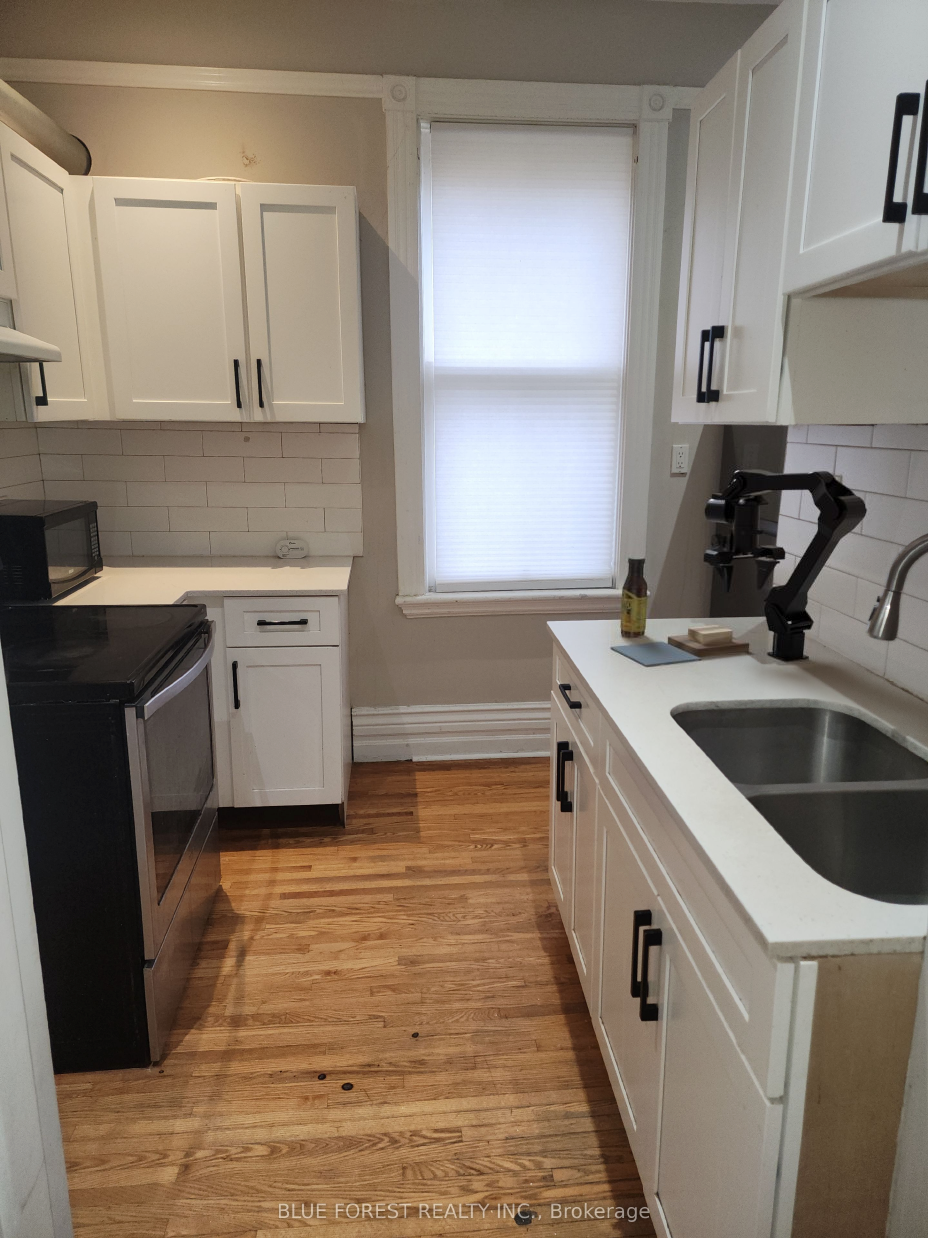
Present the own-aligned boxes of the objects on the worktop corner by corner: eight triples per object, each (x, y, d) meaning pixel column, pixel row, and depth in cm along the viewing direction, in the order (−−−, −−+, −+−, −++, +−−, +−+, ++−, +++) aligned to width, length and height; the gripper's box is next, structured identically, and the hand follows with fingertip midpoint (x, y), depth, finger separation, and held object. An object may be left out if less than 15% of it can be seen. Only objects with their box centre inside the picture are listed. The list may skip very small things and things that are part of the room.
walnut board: (748, 651, 187) (749, 643, 187) (696, 657, 183) (697, 649, 182) (717, 639, 198) (717, 631, 198) (667, 644, 194) (667, 636, 193)
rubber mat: (701, 660, 181) (701, 658, 181) (645, 666, 177) (645, 664, 177) (662, 642, 196) (662, 641, 196) (610, 648, 191) (610, 646, 191)
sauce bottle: (616, 633, 206) (618, 555, 201) (639, 631, 207) (642, 554, 202) (626, 639, 200) (628, 559, 195) (649, 637, 201) (653, 558, 196)
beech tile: (732, 641, 189) (732, 630, 188) (702, 644, 186) (703, 633, 186) (716, 635, 194) (717, 625, 194) (687, 638, 192) (688, 628, 191)
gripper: (757, 519, 198) (754, 583, 201) (691, 524, 192) (689, 588, 196) (788, 523, 187) (784, 590, 191) (719, 528, 182) (716, 596, 185)
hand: (742, 591), depth 191 cm, fingers open, 9 cm apart
